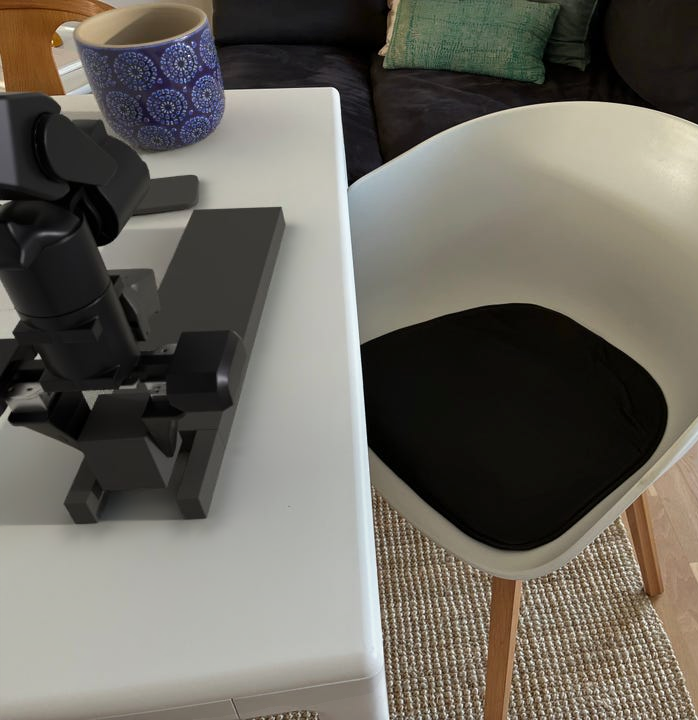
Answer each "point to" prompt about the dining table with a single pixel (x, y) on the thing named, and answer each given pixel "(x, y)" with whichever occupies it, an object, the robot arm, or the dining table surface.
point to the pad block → (124, 445)
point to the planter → (153, 73)
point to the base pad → (202, 313)
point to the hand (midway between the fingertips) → (138, 454)
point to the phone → (170, 194)
